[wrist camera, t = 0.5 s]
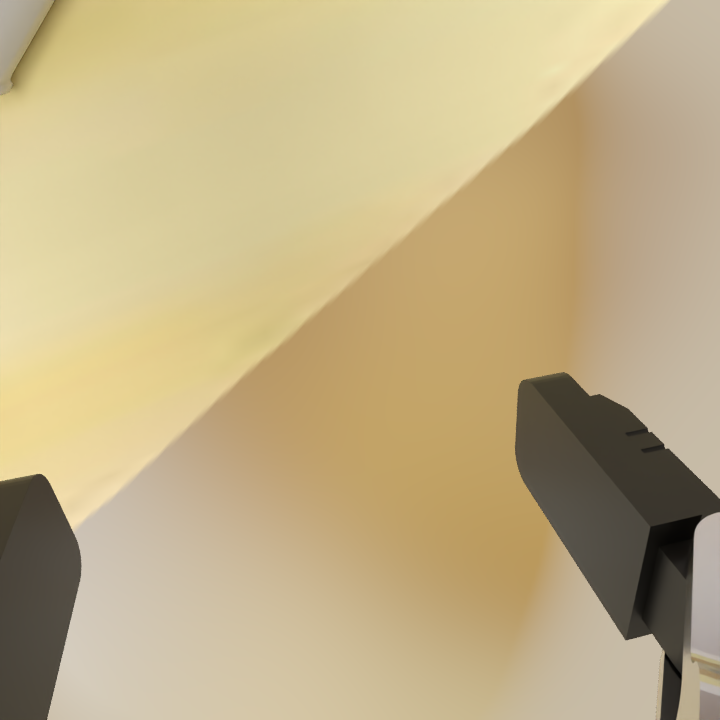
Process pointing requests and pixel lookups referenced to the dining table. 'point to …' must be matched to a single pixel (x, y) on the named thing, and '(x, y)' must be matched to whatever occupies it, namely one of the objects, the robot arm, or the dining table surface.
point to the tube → (17, 33)
